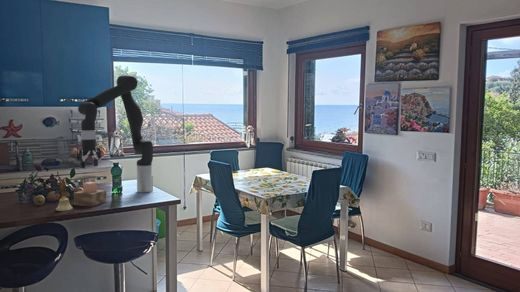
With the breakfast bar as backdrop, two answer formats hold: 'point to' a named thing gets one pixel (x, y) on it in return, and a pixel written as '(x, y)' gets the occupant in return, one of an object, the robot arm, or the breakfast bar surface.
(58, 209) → the hand bell
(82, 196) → the walnut block
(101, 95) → the robot arm
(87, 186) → the terracotta cube
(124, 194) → the breakfast bar surface
